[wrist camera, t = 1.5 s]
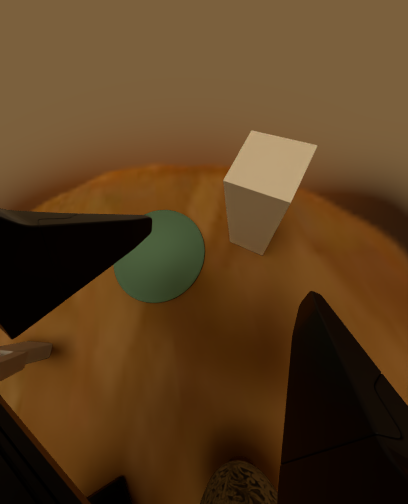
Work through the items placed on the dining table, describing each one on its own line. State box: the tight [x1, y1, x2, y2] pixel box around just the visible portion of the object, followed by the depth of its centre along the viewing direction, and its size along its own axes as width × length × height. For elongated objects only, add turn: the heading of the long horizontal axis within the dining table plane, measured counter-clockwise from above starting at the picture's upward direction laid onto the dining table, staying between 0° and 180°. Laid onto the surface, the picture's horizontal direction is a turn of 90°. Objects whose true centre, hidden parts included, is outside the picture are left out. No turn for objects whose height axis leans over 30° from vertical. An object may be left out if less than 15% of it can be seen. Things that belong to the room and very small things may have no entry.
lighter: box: [0, 341, 52, 381], centre depth 19 cm, size 7×2×8 cm, turn 88°
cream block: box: [223, 131, 317, 256], centre depth 17 cm, size 4×4×12 cm
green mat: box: [114, 210, 205, 303], centre depth 24 cm, size 13×13×1 cm
